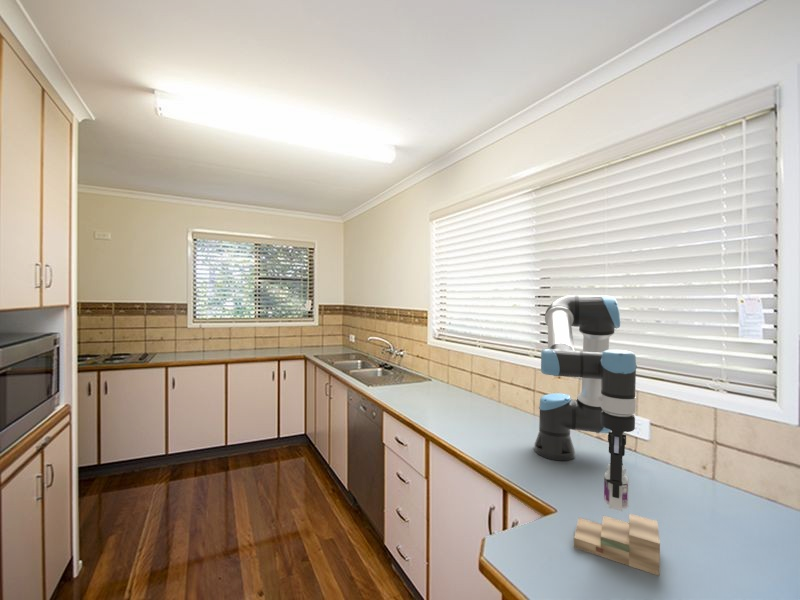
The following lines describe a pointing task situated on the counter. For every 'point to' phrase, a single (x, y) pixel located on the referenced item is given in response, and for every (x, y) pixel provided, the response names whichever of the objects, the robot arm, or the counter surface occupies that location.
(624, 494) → the pill bottle
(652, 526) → the stepped stand
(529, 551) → the counter surface
